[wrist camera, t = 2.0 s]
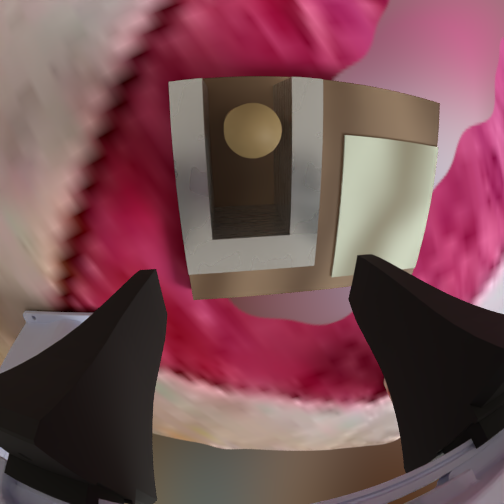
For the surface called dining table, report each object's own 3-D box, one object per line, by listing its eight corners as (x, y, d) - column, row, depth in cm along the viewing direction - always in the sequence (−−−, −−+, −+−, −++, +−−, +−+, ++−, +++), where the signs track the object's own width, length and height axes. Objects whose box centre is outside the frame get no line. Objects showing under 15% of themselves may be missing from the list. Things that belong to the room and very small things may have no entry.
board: (194, 290, 19) (187, 366, 13) (172, 84, 12) (137, 66, 7) (404, 271, 20) (450, 323, 14) (430, 102, 14) (503, 114, 8)
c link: (293, 229, 16) (314, 265, 12) (195, 235, 16) (188, 274, 12) (296, 86, 12) (322, 78, 9) (183, 90, 12) (168, 81, 8)
